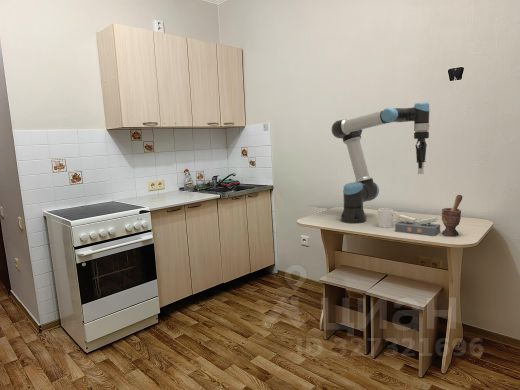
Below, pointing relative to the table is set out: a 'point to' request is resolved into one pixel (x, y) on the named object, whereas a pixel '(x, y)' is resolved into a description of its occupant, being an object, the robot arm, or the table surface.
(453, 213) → the mortar and pestle
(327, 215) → the table surface
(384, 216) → the mug
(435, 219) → the rocker
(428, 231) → the switch unit
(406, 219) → the rocker
